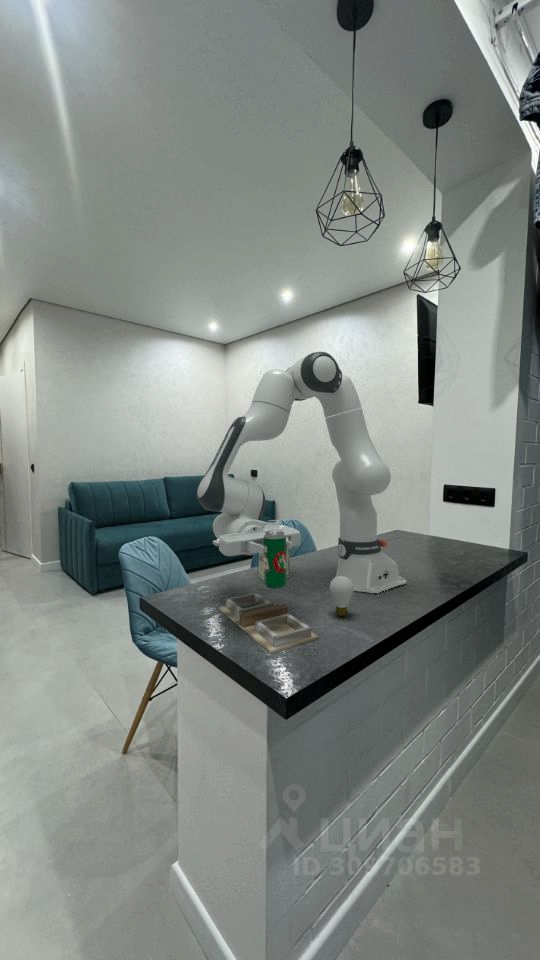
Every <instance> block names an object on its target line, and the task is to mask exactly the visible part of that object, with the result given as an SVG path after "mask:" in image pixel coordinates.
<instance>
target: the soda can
mask: <svg viewBox="0 0 540 960" xmlns="http://www.w3.org/2000/svg"><path fill="white" fill-rule="evenodd" d="M263 543H264V545H267V553H264V579H263V580H264V581H263V582H264V583H263V584H264V585H265V587H267V588H269V589H283V588H284V587H286V585H287V584H288V578H287V565H286V536H285V535H284V532H282V531H269V532H265V536H264V537H263Z"/></svg>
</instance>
